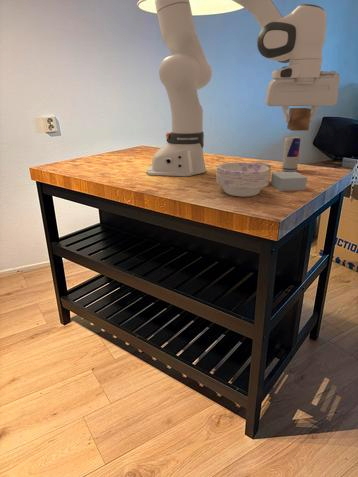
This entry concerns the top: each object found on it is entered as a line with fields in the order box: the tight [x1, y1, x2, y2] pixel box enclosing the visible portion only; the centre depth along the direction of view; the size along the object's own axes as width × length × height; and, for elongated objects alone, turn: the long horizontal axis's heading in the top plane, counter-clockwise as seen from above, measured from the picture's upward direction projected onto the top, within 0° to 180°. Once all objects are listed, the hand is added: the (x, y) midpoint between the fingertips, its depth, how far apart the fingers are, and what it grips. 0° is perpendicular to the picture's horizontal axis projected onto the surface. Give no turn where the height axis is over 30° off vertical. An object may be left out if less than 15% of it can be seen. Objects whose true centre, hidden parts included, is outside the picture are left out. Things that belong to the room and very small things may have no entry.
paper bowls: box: [215, 162, 271, 198], centre depth 104 cm, size 15×15×8 cm
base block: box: [270, 171, 308, 192], centre depth 110 cm, size 8×8×4 cm
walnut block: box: [286, 107, 312, 132], centre depth 106 cm, size 5×5×6 cm
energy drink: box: [281, 135, 301, 172], centre depth 130 cm, size 5×5×12 cm
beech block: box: [253, 161, 272, 184], centre depth 116 cm, size 5×5×6 cm
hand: (298, 122), depth 107 cm, fingers closed on walnut block, 5 cm apart
